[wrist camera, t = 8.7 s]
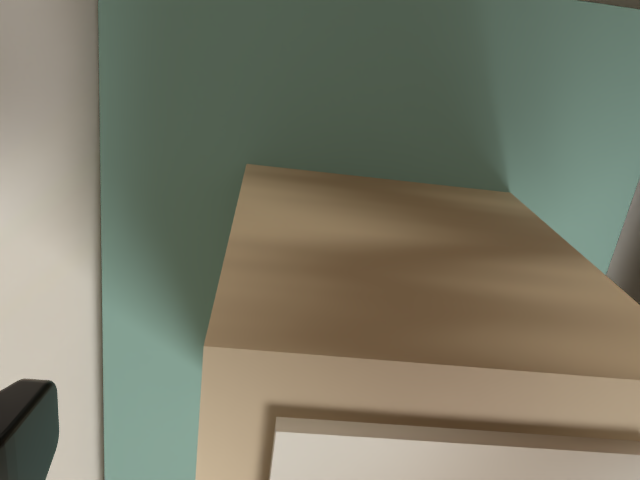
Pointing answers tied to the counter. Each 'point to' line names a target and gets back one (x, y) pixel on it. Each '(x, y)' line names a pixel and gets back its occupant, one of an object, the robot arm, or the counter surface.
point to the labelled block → (411, 340)
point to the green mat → (329, 151)
